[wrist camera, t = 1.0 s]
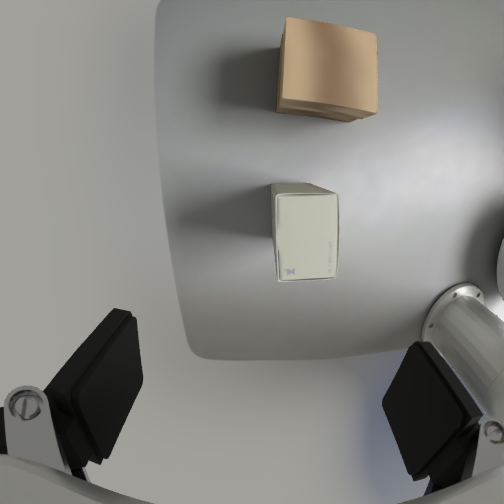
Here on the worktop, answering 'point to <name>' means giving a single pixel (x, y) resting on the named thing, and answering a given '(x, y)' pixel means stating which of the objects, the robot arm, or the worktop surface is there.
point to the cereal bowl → (501, 270)
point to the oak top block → (328, 69)
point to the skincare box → (305, 232)
